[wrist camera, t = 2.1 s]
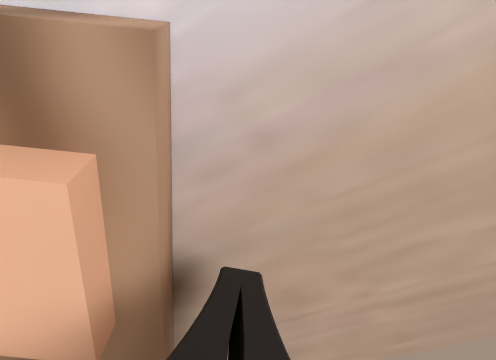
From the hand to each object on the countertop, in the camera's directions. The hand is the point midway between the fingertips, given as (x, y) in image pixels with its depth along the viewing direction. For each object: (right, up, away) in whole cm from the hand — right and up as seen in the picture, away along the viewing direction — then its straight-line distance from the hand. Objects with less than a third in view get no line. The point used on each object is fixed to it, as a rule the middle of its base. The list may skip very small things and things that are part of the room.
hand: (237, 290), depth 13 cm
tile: (-8, +1, +1) cm, 8 cm away
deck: (-8, +2, +3) cm, 9 cm away
